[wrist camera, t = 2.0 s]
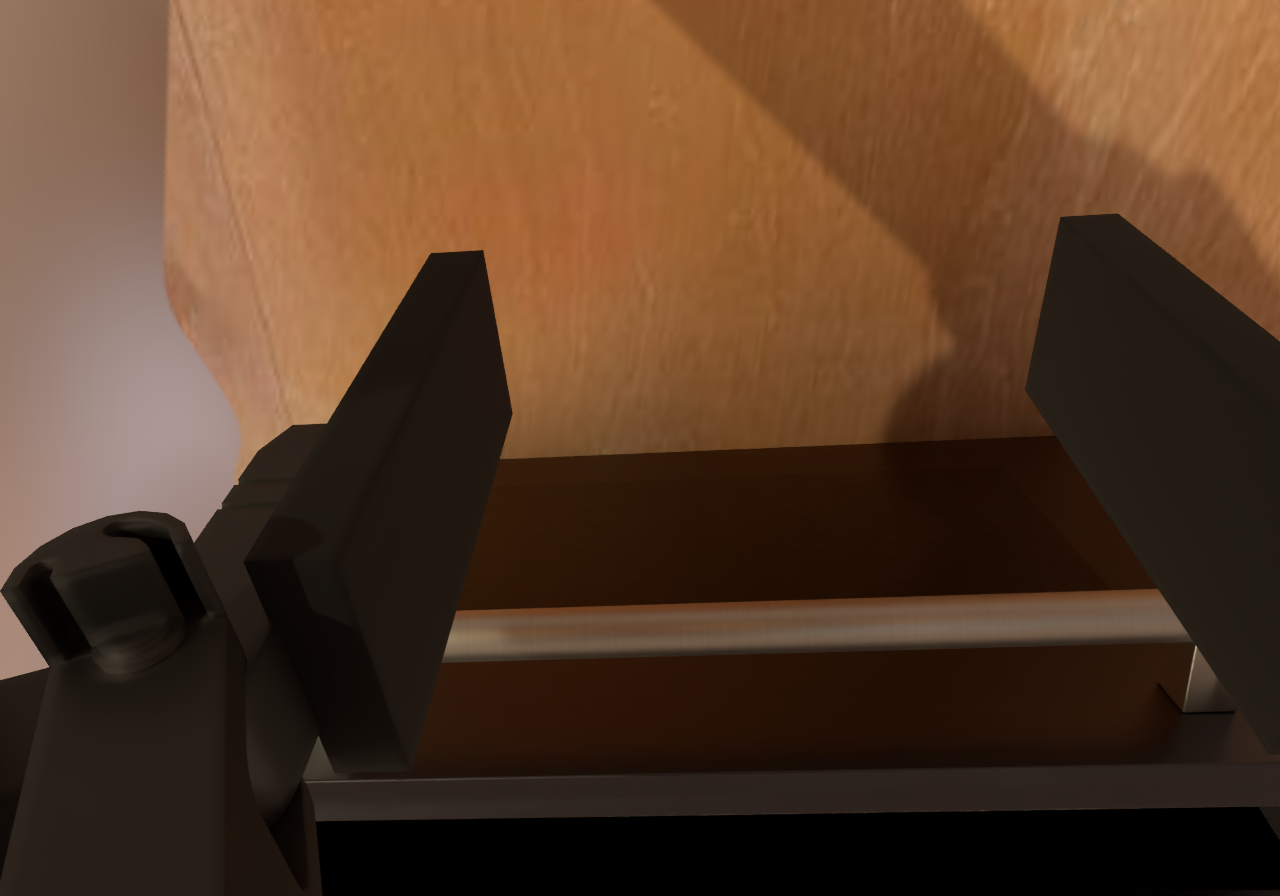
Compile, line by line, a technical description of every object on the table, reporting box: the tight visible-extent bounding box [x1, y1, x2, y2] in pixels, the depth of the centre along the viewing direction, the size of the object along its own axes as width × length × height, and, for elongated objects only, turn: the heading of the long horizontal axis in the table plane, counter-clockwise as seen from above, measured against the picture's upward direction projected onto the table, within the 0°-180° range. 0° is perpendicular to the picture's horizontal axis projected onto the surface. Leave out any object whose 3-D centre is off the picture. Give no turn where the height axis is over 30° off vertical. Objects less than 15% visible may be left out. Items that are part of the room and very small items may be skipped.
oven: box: [316, 806, 1280, 896], centre depth 48 cm, size 32×40×26 cm
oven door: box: [303, 436, 1280, 821], centre depth 37 cm, size 5×40×26 cm, turn 94°
